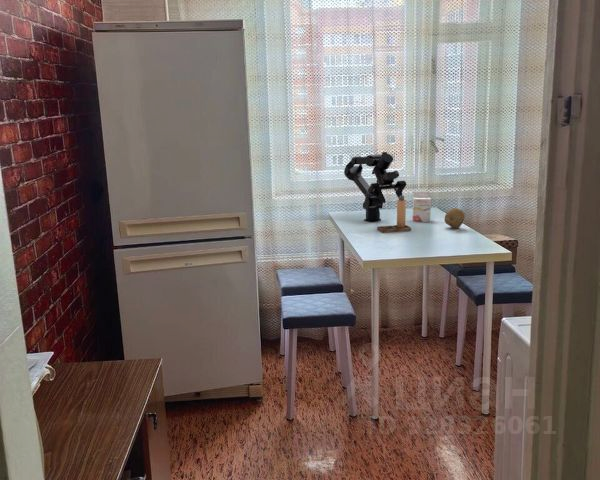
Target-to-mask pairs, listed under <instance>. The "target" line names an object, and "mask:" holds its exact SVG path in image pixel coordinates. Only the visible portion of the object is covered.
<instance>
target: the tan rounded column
mask: <svg viewBox="0 0 600 480" xmlns="http://www.w3.org/2000/svg"><path fill="white" fill-rule="evenodd" d="M406 205H407V199H405V196H404V195H402V196H399V198H398V199H397V200H396V225H397V228H405V225H406V219H407V218H406V214H407V212H406V210H407V206H406Z"/></svg>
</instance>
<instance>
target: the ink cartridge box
mask: <svg viewBox="0 0 600 480" xmlns="http://www.w3.org/2000/svg"><path fill="white" fill-rule="evenodd" d="M431 205H432V198H431V192H430V191H425V190H423V191H416V190H415V191H413V198H412V222H416V223H430V222H431V211H432V210H431V209H432V208H431V207H432V206H431Z"/></svg>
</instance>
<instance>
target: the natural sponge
mask: <svg viewBox="0 0 600 480" xmlns="http://www.w3.org/2000/svg"><path fill="white" fill-rule="evenodd" d="M465 215H466V214H465V213H464V212H463V210H462V209H460V208H456V207H455V208H454V207H453V208H451V209H449V210H447V212H446V213H445V215H444V223H445V224H446V225H448V226H449V227H451V229H455V230H457V229H459V228H460V227H461V226H462V225H463V223H464V221H465Z"/></svg>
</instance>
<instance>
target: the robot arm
mask: <svg viewBox="0 0 600 480" xmlns="http://www.w3.org/2000/svg"><path fill="white" fill-rule="evenodd" d="M393 162H394V157H393V156H392V155H391V154H390V153H388V152H387V151H382V152H381V154H380V153H378V154H377V153H376V154H368V155H366V156H353V157H352V158H351V160H350V161H349V162H348V163H347V164H346V165H345V168H344V170H343V174H344V177H346V179H348V180H349V181H352V182H354V184H355V185H356V186H357V187H358V189H359V191H361V193H362V194H363V195H364V197H365V198H364V202H362V209H364V210H365V218H364V219H363V221H365V222H372V223H375V222H378V221H382V218H381V212H380V209H382V208H383V206H384V204H386V203H387V201H386V198H385V196H384V194H383V192H382V191H383V190H394V192H395V195H396V196H397V198H398V199H399V196H403V191H404V189H405V188H406V186H407V182H406V181H405V180H397V179H398V178H399V177H400V173H399V171H398V170H394V171H387V170H388V169H389V168H390V166H391V164H392V163H393ZM363 165H366V166H368V167H373V168H372V171H371V174H372V175H374V176H375V177H376V178H375V179H376V182H371V184H368V182H367V181H366V179H365V178H364V177H363V176H362V173H363V170H364V168H363ZM395 179H396V180H397V181H396V183H394V182H395ZM393 183H394V184H393Z"/></svg>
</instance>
